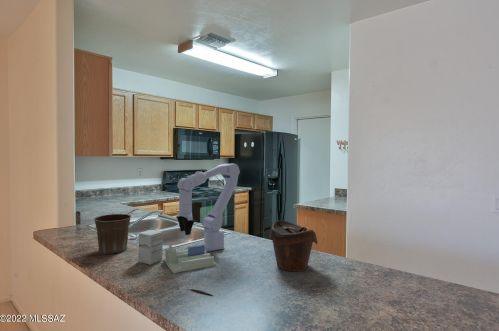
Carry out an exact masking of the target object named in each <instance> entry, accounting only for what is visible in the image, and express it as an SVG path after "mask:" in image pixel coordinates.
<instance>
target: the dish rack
mask: <svg viewBox="0 0 499 331" xmlns="http://www.w3.org/2000/svg"><path fill="white" fill-rule="evenodd" d="M164 249H165V256H164V257H165V258H162V261H163V262H164V263H165V264H166V266H167V267H168V268H169V270H170V271H171V272H172V274H175V273H182V272H186V271H188V272H189V271H192V270H197V269H198V270H199V269H203V268H209V267H214V266H217V262H216V261H215V256H211V253H208V252H207V251H206V250H205V254H202V255H195V256H189V257H188V249H185V250H179V251H177V250H176V249H175V248H174V247H173V245H172V243H169V244H168V247H165V248H164Z"/></svg>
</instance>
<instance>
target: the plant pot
mask: <svg viewBox="0 0 499 331" xmlns="http://www.w3.org/2000/svg"><path fill="white" fill-rule="evenodd" d="M131 218H132V215H131V214H127V213H126V214H125V213H113V214H111V213H110V214H104V215H100V216H96V217H94V218H93V221H94V223H95V224H94V225H95V228H96V235H97V244H98V251H99V254H103V255H114V254H116V253H117V254H119V253H123V252H125V251H126V250H127V249H128V239H129V227H130V224H131Z"/></svg>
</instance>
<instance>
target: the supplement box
mask: <svg viewBox="0 0 499 331" xmlns="http://www.w3.org/2000/svg"><path fill="white" fill-rule="evenodd" d="M163 234H164V232H163V231H161V230H160V231H159V230H153V229H148V230H145V231H141V232H139V233H138V252H137V254H138V255H137V256H138V263H142V264H147V265H154V264H156V263H159V262H161V261H163V244H164V243H163V240H164V236H163Z"/></svg>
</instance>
